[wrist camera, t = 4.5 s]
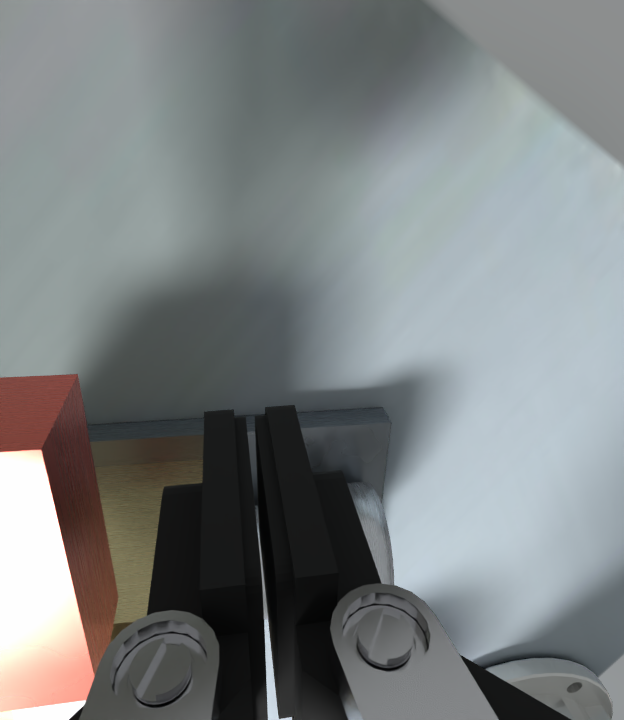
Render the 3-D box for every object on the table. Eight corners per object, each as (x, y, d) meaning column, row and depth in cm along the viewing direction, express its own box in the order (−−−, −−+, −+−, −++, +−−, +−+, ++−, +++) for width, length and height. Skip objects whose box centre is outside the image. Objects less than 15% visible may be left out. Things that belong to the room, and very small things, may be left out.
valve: (382, 407, 19) (477, 580, 12) (365, 566, 23) (431, 769, 16) (-178, 441, 16) (-463, 692, 9) (-98, 617, 20) (-263, 892, 13)
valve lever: (154, 769, 13) (145, 873, 11) (52, 785, 13) (26, 895, 11) (84, 374, 8) (49, 449, 7) (-85, 381, 8) (-171, 463, 6)
